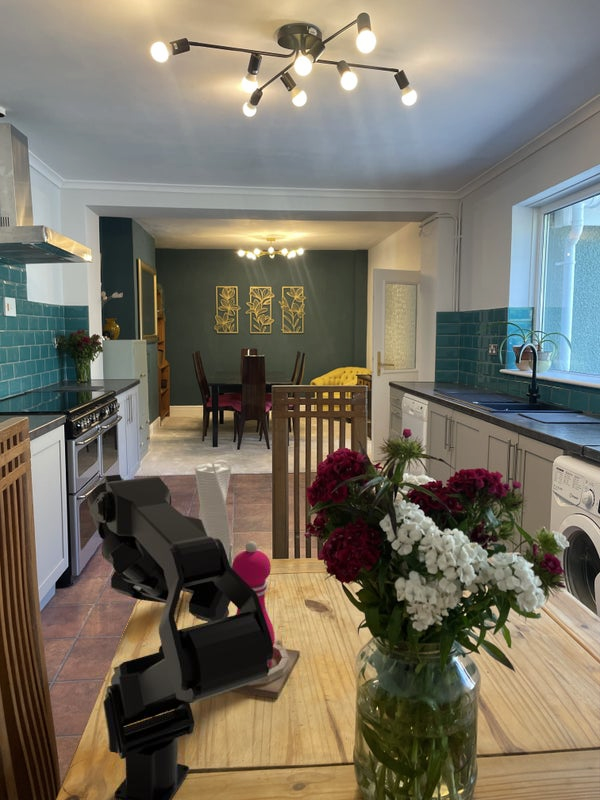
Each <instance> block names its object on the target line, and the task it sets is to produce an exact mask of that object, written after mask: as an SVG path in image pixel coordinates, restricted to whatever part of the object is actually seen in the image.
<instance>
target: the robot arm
mask: <svg viewBox="0 0 600 800" xmlns="http://www.w3.org/2000/svg"><path fill="white" fill-rule="evenodd" d="M87 505H88V507H89V514H90V517H92V518H93V522H94V525H95V527H96V530H97V533H98V535H99V537H100V538H101V539H102V540H103V542H102V545H101V549H100V550H101V555H102V557H103V559H104V560H105V561H107V562H108V563H109V564H111V566H112V567H113V570H114V573H113V575H112V576H111V578H110V584H111V587H110V588H111V589H113V590H115V591H116V592H117V593H118V594H122V595H125V596H127V597H131V598H134V599H136V600H140V601H147V602H155V603H161V604H162V603H163V604H165V606H164V609H163V611H162V615H161V619H160V623H159V626H158V635H159V639H160V645H161V644H162V648H163V651H162V652H159V651H158V652H156V653H155V652H154V653H151V654H148V655H144V656H141V657H137V658H133V659H130V660H126V661H123V662H121V663H120V664H119V665H118V666H114V667H113V672H114V674H113V675H112V676H111V679H110V685H108V686H107V687H106V690H105V691H106V692H105V694H104V700H103V710H104V715H105V716H104V717H105V724H106V728H107V737H108V750H109V752H110V753H114V754H115V753H116V754H118V756H119V758H120V759H121V760H123V759H124V760H125V761H124V762H125V778H124V779H123V781H122V782H121V783H120V784H119V786H118V787H117V788H116V790H115V791H114V799H116V800H172V799H173V798H174V796H175V794H176V792H177V791H178V790H179V788H180V787H181V785H182V784H183V782H184V780H185V778H186V777H187V776H188V774H189V773H190V766H188V765H185V764H181V763H178V759H179V758H178V738H181V737H183V736H186V735H191V734H193V733H194V727H195V719H194V714H193V710H192V706H191V704H194V703H196V702H200V701H203V700H206V699H209V698H212V697H215V696H217V695H220V694H223V693H226V692H229V691H230V690H233V689H236V688H239V687H242V686H245V685H248V684H251V683H254V682H257V681H259V680H262V679H264V678H266V677H267V675H268V673H269V670H270V667H269V666H268V664H267V663H269V662H270V661H271V660H272V657H273V643H272V639H271V635H270V632H269V629H268V626H267V623H266V620H265V617H264V614H263V611H262V608H261V605H260V601H259V598H258V596H257V594H256V592H255V591H254V590H253V589H252V588H251V587H250V586H249V585H248V584H247V583H246V582H245V581H244V580H243V579H242V578H241V577H240V576H239V575H238V574H237V573H236V572H235V571H234V570H233V569H232V568H231V567H230V565H229V561H228V558H227V555H226V552H225V549H224V546H223V544H222V542H221V541H220V539H218V538H214V539H213V538H212V537H209V536H207V533H206V531H205V528H204V525H203V523H202V520H201V519H199V518H197V517H192V516H187V515H183V514H182V513H181V512H180V511H178V510H177V509H176V508H175V507H174V506H173V505H172V497H171V490H170V488H169V487H168V485H167V483H165V481H163V479H162V478H161V477H159V476H146V477H139V478H130V479H122V476H121V474H119V473H118V474H111V475H105V476H104V482H102V483H100V484H99V485H97V486H96V487H95V488H94V489H93V490H92V491H90V495H88V497H87ZM181 592H184V593H185V592H186V593H189V594H192V595H191V597H190V599H189V601H188V614H191V615H192V616H193V617H195V619H198V620H200V621H204V622H203V623H200V624H196V625H195V624H194V625H193V626H188V627H184V628H181V629H178V625H177V621H176V618H175V614H176V612H177V611H176V610H177V607H178V603H179V601H180V599H181V596H180V595H181ZM231 603H232V604H233V605H234V606H235V607H236V608H237V609H239V610H240V613H241V614H237V615H236V614H234V615H230V611H229V610H230V609H229V605H230V604H231ZM229 615H230V616H229Z"/></svg>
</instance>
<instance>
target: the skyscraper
mask: <svg viewBox="0 0 600 800" xmlns="http://www.w3.org/2000/svg"><path fill="white" fill-rule="evenodd" d="M219 463H224V464H226V465H227V468H226V467H222V466H221V464H219ZM194 472H195V479H196V481H195V482H196V487H197V493H198V494H197V495H198V500H199V511H198V512H199V514H198V519H201V520H202V523H203V525H204V528H205V531H206V533H207V536H209V537H212V538H213V539H214V538H218V539H220V541H221V542H222V544H223V546H224V549H225V552H226V555H227V558H228V561H229V565H230V567H231V568H232V564H233V561H234V558H233V553H234V552H233V550H234V549H233V546H234V545H233V543H232V532H231V524H230V519H229V512H228V507H227V497H228V492H229V485H230V481H231V480H230V479H231V474H232V473H231V472H232V467H231V465H230V464H229V462H228V461H227V460H225V459H217V460H215V461H213V462H212V463H203V464H199V465H197V466H195V468H194Z"/></svg>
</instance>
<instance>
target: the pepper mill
mask: <svg viewBox="0 0 600 800" xmlns="http://www.w3.org/2000/svg"><path fill="white" fill-rule="evenodd" d="M232 561H233V564H232V569H233V570H234V571H235V572H236V573H237V574H238V575H239V576H240V577H241V578H242V579H243V580H244V581H245V582H246V583H247V584H248V585H249V586H250V587H251V588H252V589H253V590H254V591H255V592H256V594H257V596H258V598H259V601H260V605H261V608H262V611H263V614H264V617H265V620H266V623H267V626H268V629H269V632H270V635H271V639H272V643H273V645H274V643H276V641H275V640H276V638H275V637H276V636H275V631H274V626H273V623H272V621H271V619H270V616H269V614H268V612H267V607H266V600H265V598H266V593H267V592H268V591H269V588H268V581H267V579H268V578H269V576H270V574H271V569H272V566H271V561H270V559H269V556H268V555H267V554H266V553H264V552H262V551H260V550H258V545H257V543H256V542H255V541H252V540H251V541H248V542H247V543H246V544H245V550H244V551H243V550H242V551H241V552H239V553H238V554H236V556H235V557H234V558H233V560H232ZM237 614H241V613H240V610H239V609H238V608H237V609H236V614H235V615H237ZM267 664H268V666H269V667H271V665H272V660H271V661H270V662H269V663H267Z"/></svg>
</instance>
